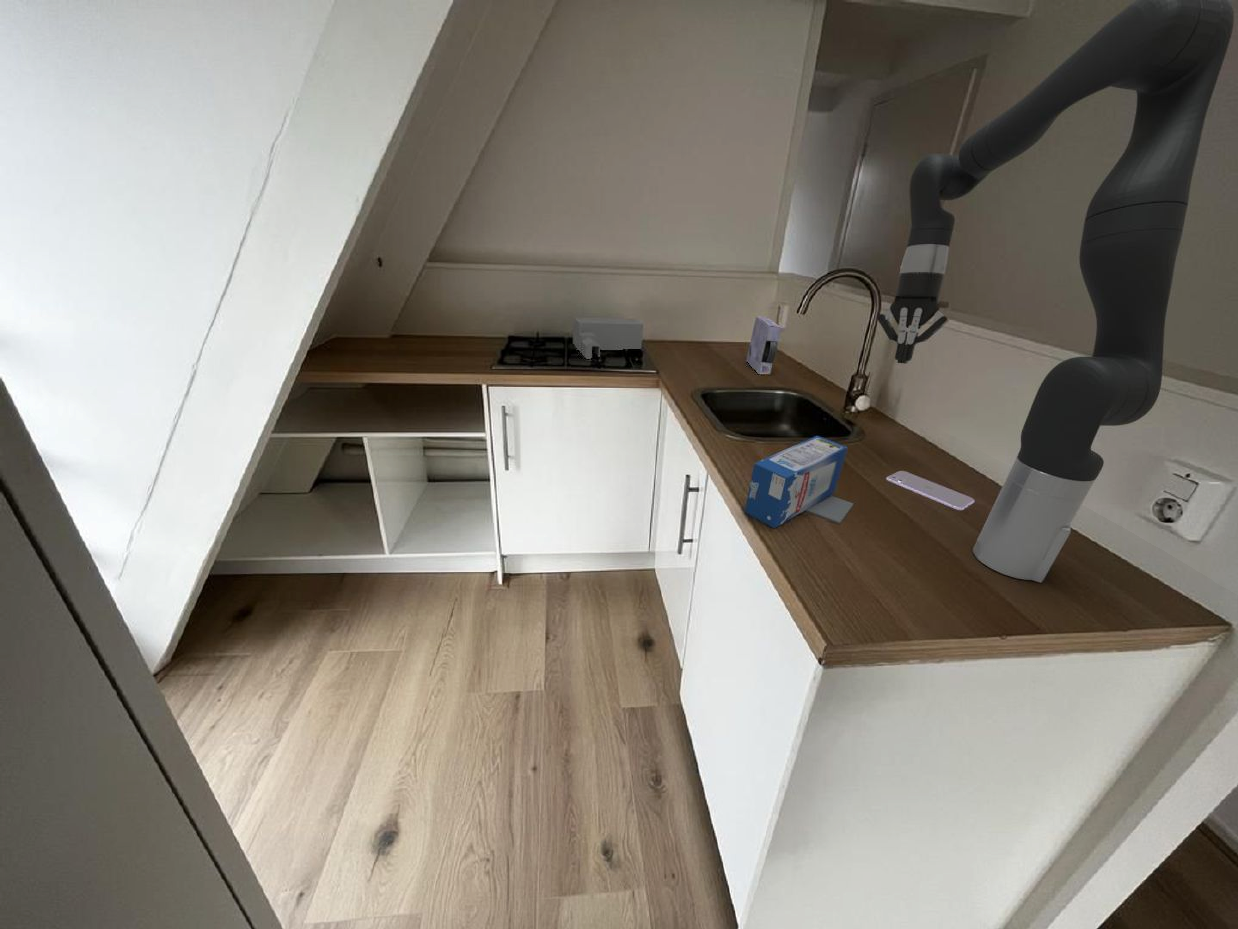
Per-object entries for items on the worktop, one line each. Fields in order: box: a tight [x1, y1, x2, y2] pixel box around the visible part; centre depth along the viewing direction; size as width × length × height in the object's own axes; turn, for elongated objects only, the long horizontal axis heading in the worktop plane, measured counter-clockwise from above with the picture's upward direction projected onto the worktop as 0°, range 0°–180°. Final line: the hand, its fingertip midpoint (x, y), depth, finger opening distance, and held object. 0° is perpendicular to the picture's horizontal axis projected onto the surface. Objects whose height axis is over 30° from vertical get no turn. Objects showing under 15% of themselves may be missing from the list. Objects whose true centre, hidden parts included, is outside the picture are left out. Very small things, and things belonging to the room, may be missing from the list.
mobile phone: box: [885, 470, 975, 511], centre depth 101 cm, size 8×1×15 cm
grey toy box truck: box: [572, 316, 644, 359], centre depth 186 cm, size 25×23×11 cm
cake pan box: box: [745, 315, 782, 375], centre depth 177 cm, size 19×5×18 cm, turn 0°
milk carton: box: [744, 435, 848, 529], centre depth 89 cm, size 10×6×20 cm
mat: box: [804, 495, 854, 525], centre depth 92 cm, size 12×9×1 cm
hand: (902, 363), depth 100 cm, fingers closed
